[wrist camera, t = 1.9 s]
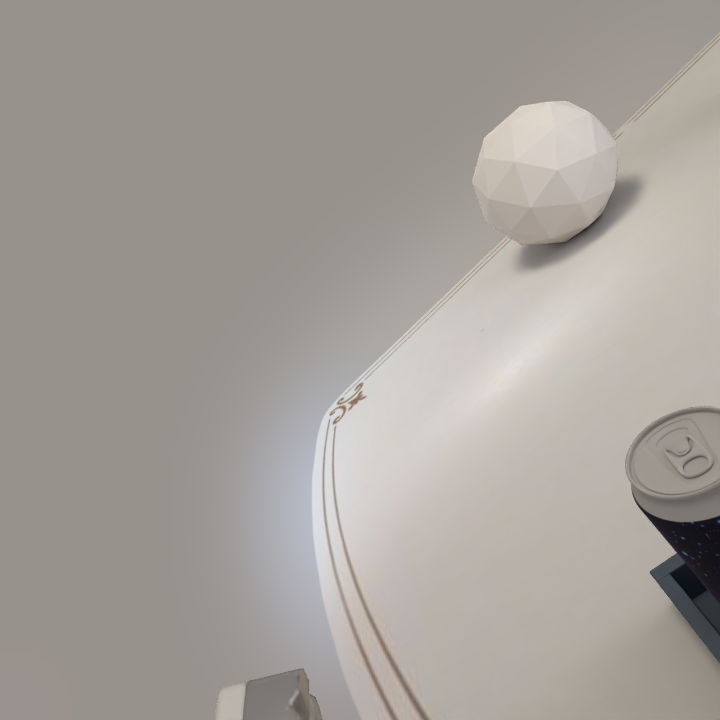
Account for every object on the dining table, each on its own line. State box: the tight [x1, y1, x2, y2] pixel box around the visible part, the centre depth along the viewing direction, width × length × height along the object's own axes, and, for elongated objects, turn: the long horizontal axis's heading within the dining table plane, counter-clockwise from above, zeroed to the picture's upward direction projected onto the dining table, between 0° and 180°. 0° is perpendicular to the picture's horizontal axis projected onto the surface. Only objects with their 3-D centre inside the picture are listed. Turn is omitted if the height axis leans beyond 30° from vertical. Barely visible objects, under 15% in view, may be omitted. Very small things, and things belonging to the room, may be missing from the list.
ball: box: [472, 101, 618, 245], centre depth 79 cm, size 19×20×20 cm
